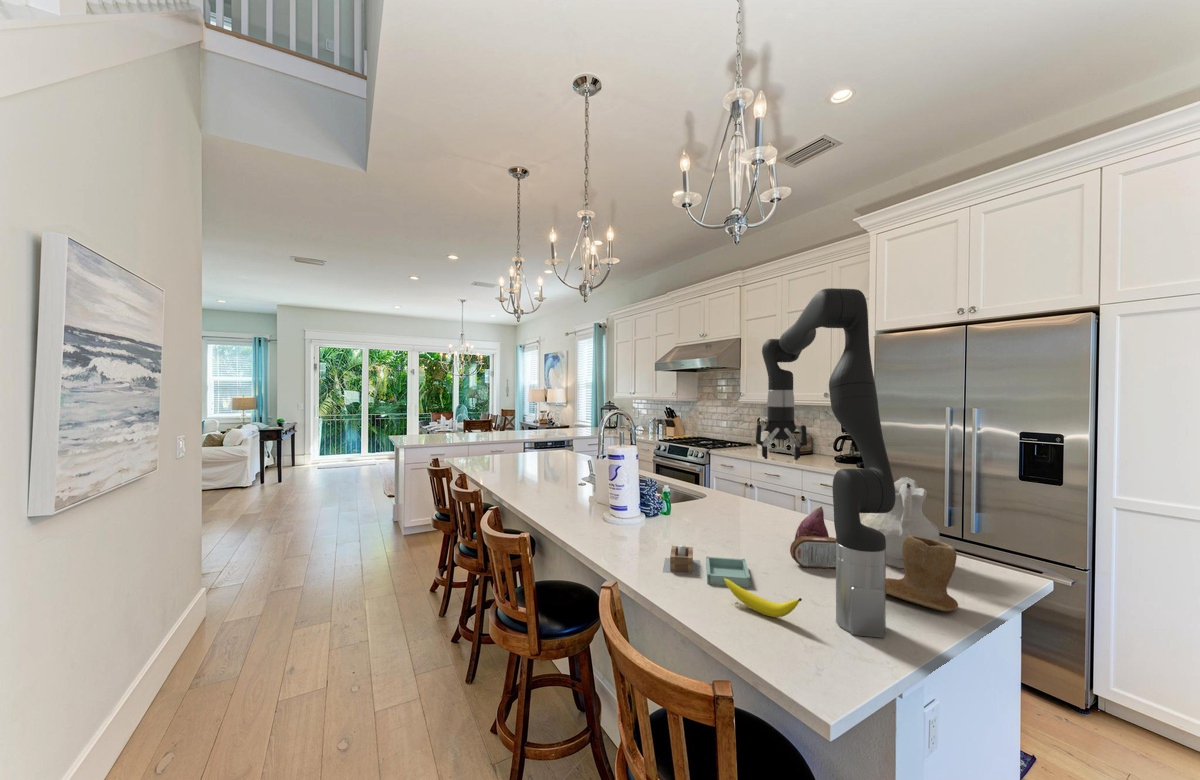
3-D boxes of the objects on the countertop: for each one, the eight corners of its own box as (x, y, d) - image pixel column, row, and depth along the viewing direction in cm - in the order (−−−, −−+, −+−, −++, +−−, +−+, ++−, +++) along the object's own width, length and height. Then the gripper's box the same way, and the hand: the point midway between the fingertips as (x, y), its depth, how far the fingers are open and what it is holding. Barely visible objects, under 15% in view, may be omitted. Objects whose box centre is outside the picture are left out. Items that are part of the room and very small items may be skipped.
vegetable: (829, 556, 150) (842, 511, 150) (825, 561, 142) (839, 514, 141) (795, 542, 156) (808, 499, 156) (789, 546, 147) (803, 501, 147)
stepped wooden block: (692, 573, 126) (692, 558, 126) (670, 571, 127) (670, 556, 127) (692, 561, 135) (692, 547, 135) (671, 559, 136) (671, 545, 136)
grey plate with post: (700, 577, 125) (700, 554, 125) (662, 574, 127) (662, 551, 127) (699, 562, 136) (699, 541, 136) (665, 559, 138) (665, 538, 138)
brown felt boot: (966, 605, 109) (966, 541, 109) (948, 620, 102) (948, 551, 102) (894, 583, 121) (894, 525, 121) (874, 595, 114) (874, 534, 114)
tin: (844, 566, 133) (844, 536, 133) (849, 570, 130) (849, 540, 130) (789, 564, 135) (789, 534, 135) (793, 568, 132) (793, 538, 132)
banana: (727, 596, 113) (727, 570, 113) (804, 626, 99) (804, 596, 99) (720, 600, 111) (720, 573, 111) (798, 631, 97) (798, 600, 97)
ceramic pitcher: (957, 584, 123) (965, 490, 123) (877, 574, 126) (885, 482, 126) (915, 556, 145) (922, 476, 145) (848, 547, 148) (854, 469, 148)
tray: (750, 589, 117) (750, 578, 117) (707, 585, 119) (707, 574, 119) (744, 569, 130) (745, 559, 130) (706, 566, 133) (706, 556, 133)
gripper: (757, 405, 139) (757, 460, 138) (808, 405, 135) (808, 461, 135) (754, 404, 146) (754, 457, 146) (803, 405, 143) (803, 458, 142)
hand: (780, 459), depth 140 cm, fingers open, 8 cm apart
